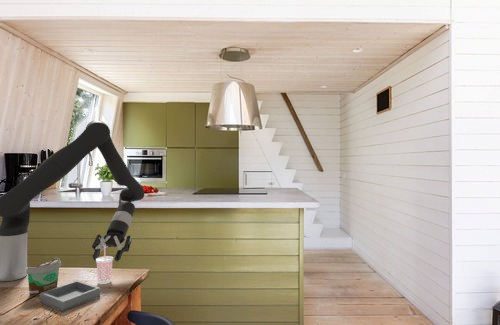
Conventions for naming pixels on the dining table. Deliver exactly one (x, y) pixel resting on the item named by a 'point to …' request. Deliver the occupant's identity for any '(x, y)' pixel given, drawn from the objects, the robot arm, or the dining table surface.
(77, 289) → the tray
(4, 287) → the dining table surface
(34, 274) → the food container
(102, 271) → the beverage cup
